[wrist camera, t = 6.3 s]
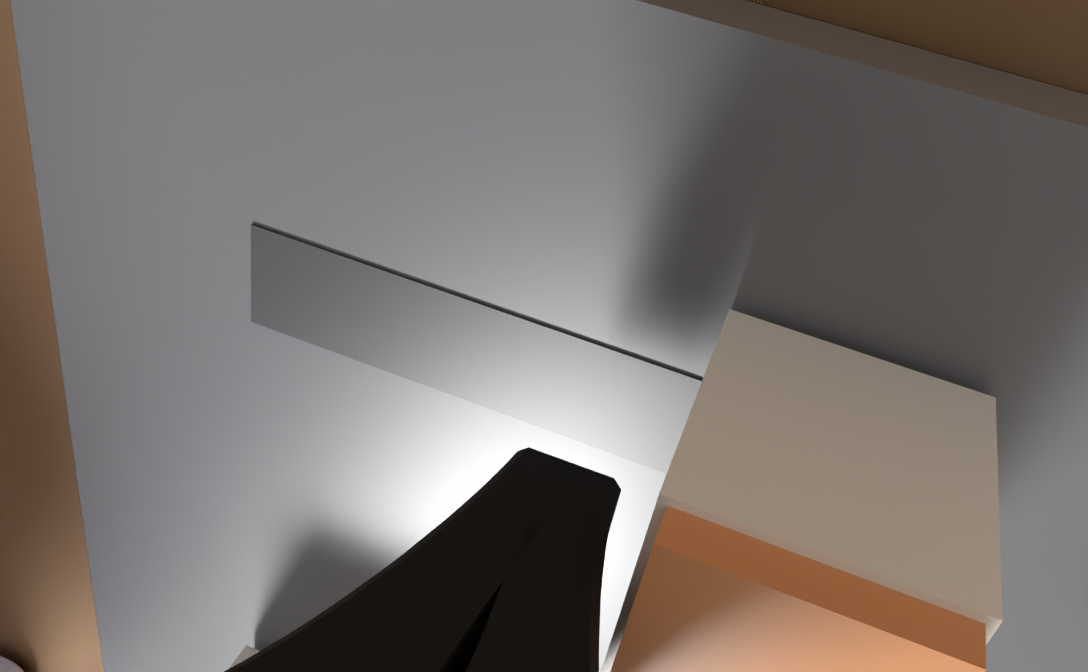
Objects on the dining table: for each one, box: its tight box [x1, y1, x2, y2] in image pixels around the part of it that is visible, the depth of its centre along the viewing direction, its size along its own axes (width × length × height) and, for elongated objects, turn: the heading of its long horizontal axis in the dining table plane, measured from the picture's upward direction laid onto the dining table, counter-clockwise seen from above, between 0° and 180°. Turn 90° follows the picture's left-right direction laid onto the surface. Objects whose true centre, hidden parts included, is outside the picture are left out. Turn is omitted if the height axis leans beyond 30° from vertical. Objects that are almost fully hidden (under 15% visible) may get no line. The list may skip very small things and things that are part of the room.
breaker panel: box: [10, 0, 1088, 672], centre depth 16 cm, size 18×20×2 cm
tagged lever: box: [601, 309, 1003, 672], centre depth 11 cm, size 3×4×4 cm
